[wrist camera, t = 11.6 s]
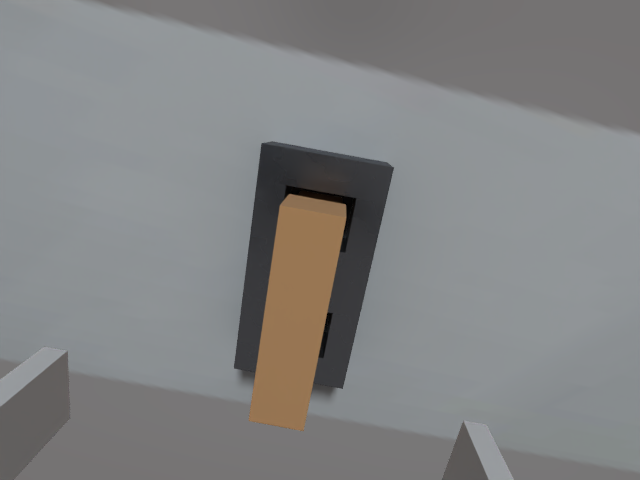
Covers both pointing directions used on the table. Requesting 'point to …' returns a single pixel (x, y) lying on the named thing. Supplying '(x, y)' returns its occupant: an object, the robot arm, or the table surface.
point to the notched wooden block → (296, 306)
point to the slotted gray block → (354, 257)
